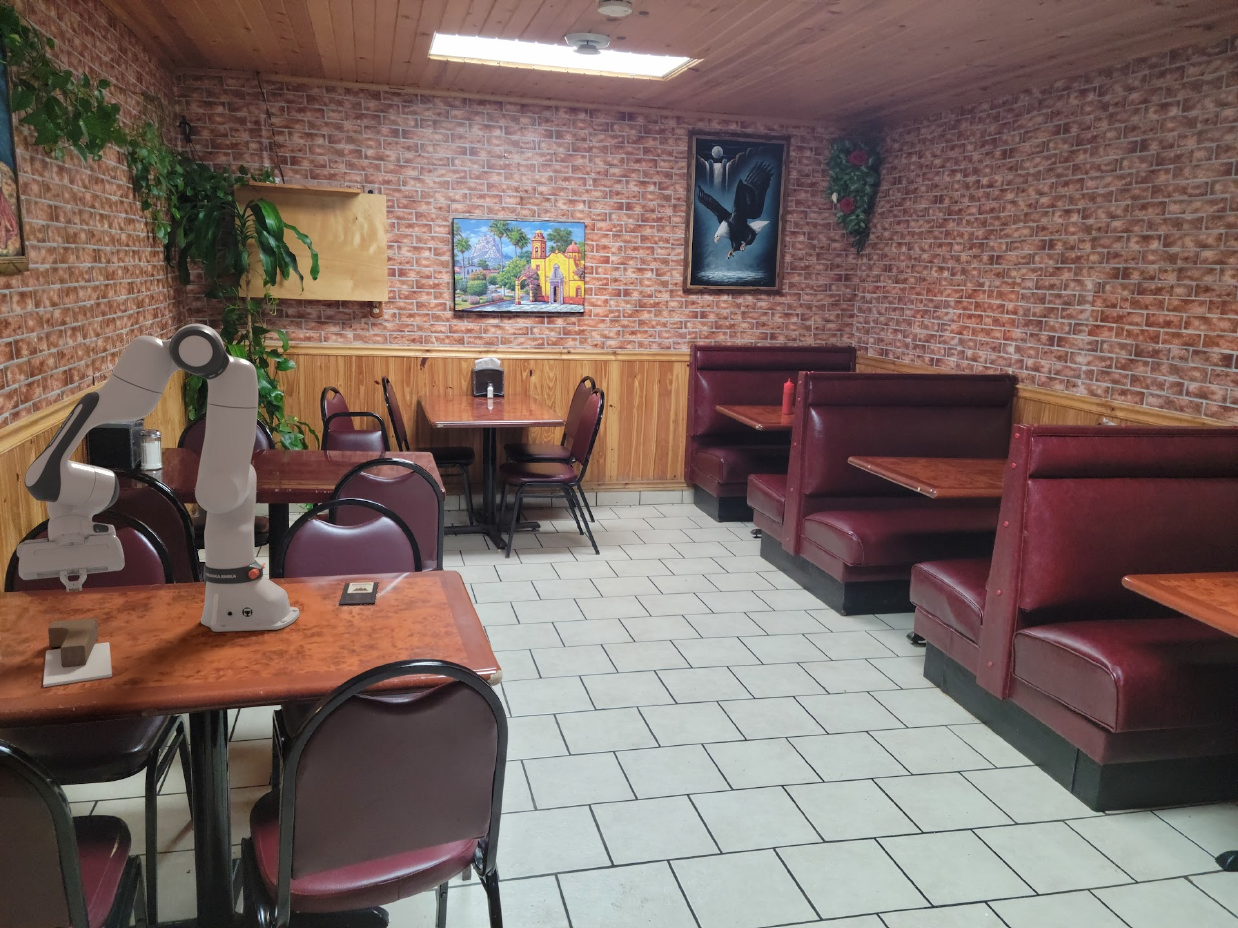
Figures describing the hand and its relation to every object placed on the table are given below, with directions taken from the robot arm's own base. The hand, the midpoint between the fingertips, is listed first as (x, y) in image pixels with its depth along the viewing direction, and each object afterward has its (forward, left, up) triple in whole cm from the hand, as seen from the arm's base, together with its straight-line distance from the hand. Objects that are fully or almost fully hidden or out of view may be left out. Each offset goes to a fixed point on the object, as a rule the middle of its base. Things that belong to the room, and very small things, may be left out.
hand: (74, 590), depth 200 cm
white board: (-5, +9, -13) cm, 17 cm away
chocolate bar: (-50, -43, -14) cm, 68 cm away
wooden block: (+3, -5, -11) cm, 12 cm away
